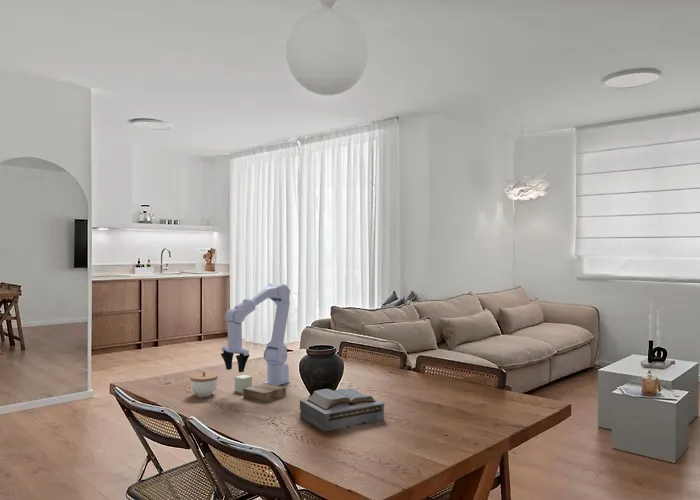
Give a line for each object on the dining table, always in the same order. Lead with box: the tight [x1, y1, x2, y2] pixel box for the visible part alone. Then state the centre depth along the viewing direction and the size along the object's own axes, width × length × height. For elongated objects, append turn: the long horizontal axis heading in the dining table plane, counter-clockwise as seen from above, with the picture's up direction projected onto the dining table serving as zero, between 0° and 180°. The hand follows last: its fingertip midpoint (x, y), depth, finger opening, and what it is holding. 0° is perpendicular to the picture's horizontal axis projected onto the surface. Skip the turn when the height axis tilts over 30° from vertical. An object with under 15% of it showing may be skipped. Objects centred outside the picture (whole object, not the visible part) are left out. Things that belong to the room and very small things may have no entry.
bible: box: [299, 387, 385, 432], centre depth 197 cm, size 23×27×10 cm
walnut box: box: [242, 382, 287, 403], centre depth 225 cm, size 12×12×4 cm
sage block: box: [234, 374, 253, 394], centre depth 234 cm, size 5×5×6 cm
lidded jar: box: [190, 371, 218, 398], centre depth 228 cm, size 11×11×9 cm
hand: (235, 370), depth 229 cm, fingers open, 7 cm apart
